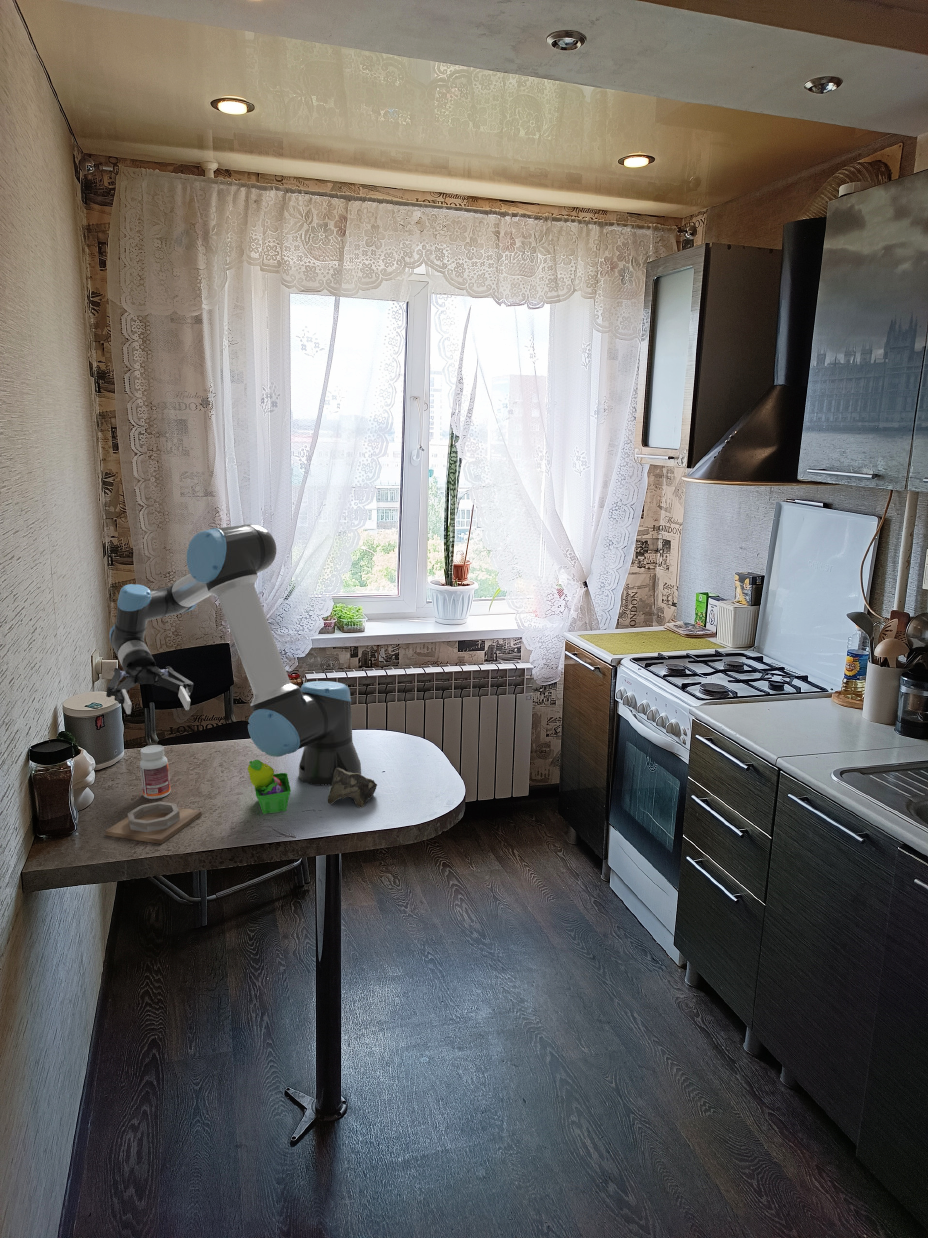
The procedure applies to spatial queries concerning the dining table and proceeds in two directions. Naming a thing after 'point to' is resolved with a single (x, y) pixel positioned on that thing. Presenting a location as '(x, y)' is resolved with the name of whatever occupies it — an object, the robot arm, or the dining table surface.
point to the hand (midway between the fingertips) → (159, 707)
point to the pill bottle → (154, 772)
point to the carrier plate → (154, 834)
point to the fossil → (351, 787)
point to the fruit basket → (269, 787)
